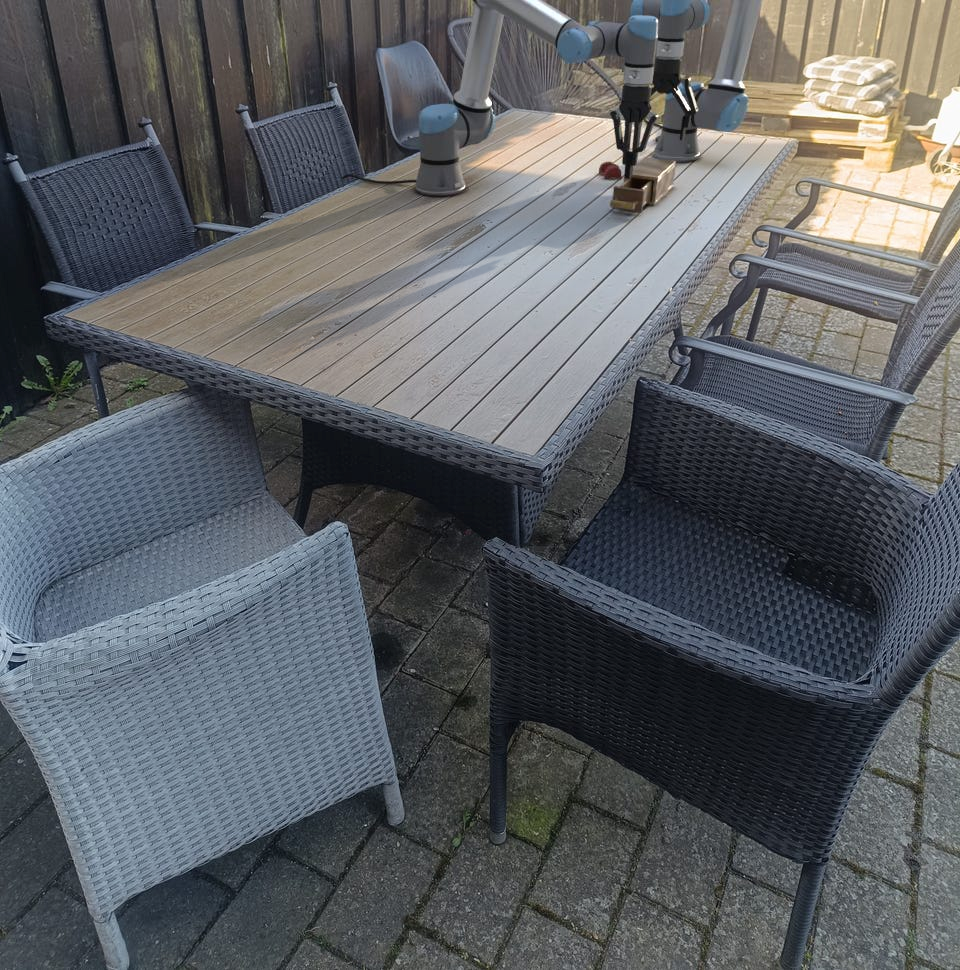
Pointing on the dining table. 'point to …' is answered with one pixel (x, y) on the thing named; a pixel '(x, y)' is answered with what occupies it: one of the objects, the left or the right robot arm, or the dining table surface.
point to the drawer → (632, 195)
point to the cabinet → (656, 176)
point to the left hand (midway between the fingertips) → (628, 177)
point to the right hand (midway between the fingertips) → (659, 136)
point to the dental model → (610, 170)
